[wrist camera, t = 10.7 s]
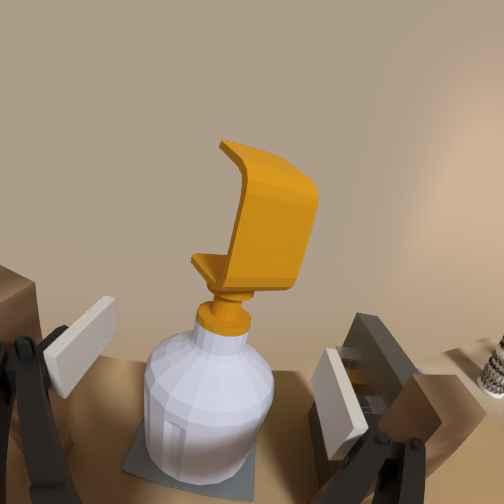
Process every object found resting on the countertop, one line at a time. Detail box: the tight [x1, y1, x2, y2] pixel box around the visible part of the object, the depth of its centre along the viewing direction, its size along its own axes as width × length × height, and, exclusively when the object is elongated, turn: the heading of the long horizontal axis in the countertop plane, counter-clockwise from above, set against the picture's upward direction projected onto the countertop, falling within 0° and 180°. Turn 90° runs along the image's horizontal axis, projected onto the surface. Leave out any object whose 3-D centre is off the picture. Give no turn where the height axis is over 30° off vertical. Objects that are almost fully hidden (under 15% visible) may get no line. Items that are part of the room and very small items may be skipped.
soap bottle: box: [144, 140, 319, 485], centre depth 17 cm, size 9×9×25 cm
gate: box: [0, 265, 486, 504], centre depth 12 cm, size 29×4×16 cm, turn 87°
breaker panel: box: [308, 313, 420, 489], centre depth 21 cm, size 4×12×14 cm, turn 177°
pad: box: [122, 417, 256, 502], centre depth 20 cm, size 11×10×1 cm
